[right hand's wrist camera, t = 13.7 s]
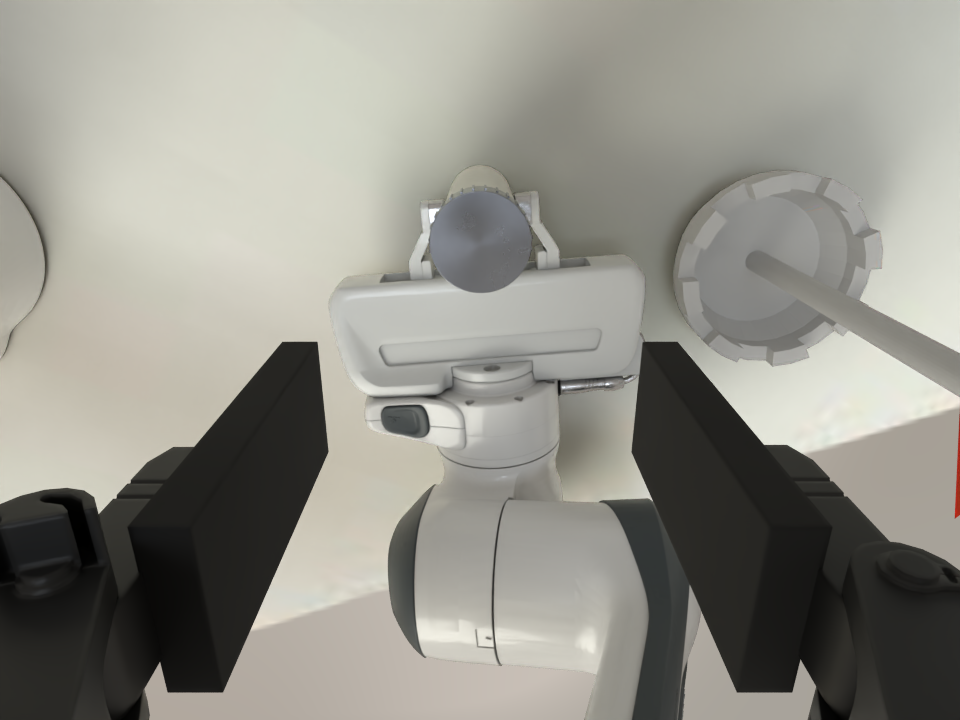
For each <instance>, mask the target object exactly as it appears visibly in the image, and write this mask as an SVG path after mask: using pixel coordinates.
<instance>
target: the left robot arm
mask: <svg viewBox="0 0 960 720" xmlns="http://www.w3.org/2000/svg"><path fill="white" fill-rule="evenodd" d="M514 200H517V201H518V203H519V206H520V207H521V209H524V211H525V213H526V216H525V217H526V219H527V220H529V222H530V225H531V227H532V229H533V230H534V232H535V233H536V235H537V236H538V238H539V239H540V241H541V242H542V244H543V245H544V246H543V245H542V244H540V245H536V246H535V261H529V262H528V263H527V265H526V267H525V268H524V270H523V271H522V273H521V274H520V275H519V276H518V278H516V279H515V280H514V281H513V282H512V283H511V284H509V285H508V286H506V287H504V288H502V289H500V290H497V291H494V292H489V293H472V292H468V291H464V290H461V289H459V288H457V287H455V286H453V285H452V284H450V283H449V282H448V281H447V280H446V279H445V278H444V277H443V276H442V275H441V274H440V273H439V271H438V270H437V269H434V263H433V260H432V257H431V254H425V255H424V253H425V250H426V248H427V246H428V243H429V241H428V238H429V236H430V231H431V229H430V225H431V223H432V222H434V219H435V218H434V215H435V212H436V211H438V210H439V209H440V206H441V204H442V202H443V201H444V202H445V199H433V200H422V201H421V202H420V212H421V221H422V232H421V234H420V236H419V239H418V241H417V243H416V246H415V248H414V250H413V253H412V255H411V257H410V260H409V269H410V271H407V272H395V273H383V274H371V275H358V276H348V277H346V278H344V279H343V280H342V281H341V282H340V283H339V284H338V286H337V287H336V288H335V290H334V291H333V293H332V295H331V296H330V299H329V313H330V319H331V323H332V328H333V332H334V336H335V340H336V343H337V347H338V350H339V353H340V356H341V359H342V362H343V365H344V368H345V371H346V373H347V375H348V377H349V379H350V380H351V382H352V383H353V385H354V386H355V387H356V388H357V389H358V390H360V391H361V392H363V393H364V394H367V397H366V402H365V421H366V424H367V426H368V427H369V428H370V429H371V430H373V431H375V432H378V433H382V434H387V435H392V436H397V437H402V438H407V439H412V440H416V441H420V442H424V443H428V444H432V445H435V446H437V447H438V450H439V453H440V455H441V458H442V461H443V464H444V478H443V481H442V482H441V483H440V484H439V485H433V486H432V487H431V488H430V489H428V490H427V491H426V492H425V493H424V494H423V495H422V496H421V497H420V498H419V500H418V501H417V502H416V503H415V504H414V505H413V506H412V507H411V508H410V510H409V511H408V512H407V513H406V514H405V515H404V516H403V517H402V519H401V520H400V521H399V523H398V525H397V526H396V528H395V531H394V533H393V536H392V539H391V542H390V547H389V554H388V581H389V592H390V599H391V605H392V610H393V613H394V616H395V618H396V620H397V622H398V624H399V626H400V628H401V630H402V632H403V633H404V635H405V637H406V638H407V640H408V641H409V643H410V644H411V645H412V646H413V648H414V649H415V650H416V651H417V652H418V653H419V654H421V655H422V656H423V657H424V658H426V657H430V658H434V659H439V660H445V661H455V662H464V663H474V664H485V665H497V666H502V665H512V666H523V667H534V668H545V669H557V670H568V671H579V672H585V673H590V674H594V675H596V678H595V681H594V685H593V689H592V693H591V696H590V700H589V704H588V708H587V711H586V715H585V719H584V720H682V719H683V708H684V698H685V694H684V687H685V679H686V671H687V660H688V657H689V654H690V651H691V648H692V646H693V643H694V640H695V637H696V634H697V630H698V626H699V622H700V615H701V609H700V607H699V605H698V602H697V600H696V598H695V595H694V593H693V591H692V589H691V586H690V584H689V582H688V579H687V577H686V575H685V573H684V570H683V568H682V566H681V564H680V561H679V559H678V557H677V554H676V552H675V550H674V548H673V545H672V543H671V541H670V538H669V536H668V534H667V532H666V529H665V527H664V525H663V523H662V520H661V518H660V516H659V513H658V511H657V509H656V507H655V504H654V502H653V501H651V500H650V499H626V500H603V501H600V502H599V503H596V502H566V501H563V495H562V483H561V479H560V476H559V474H558V471H557V469H556V455H557V451H558V448H559V444H560V423H559V399H558V396H559V395H561V394H574V393H584V392H589V391H593V390H594V391H595V390H604V391H613V390H618V389H621V388H623V387H624V384H626V383H629V382H631V381H633V380H634V379H636V378H637V377H638V376H639V373H640V363H641V353H642V343H643V342H645V340H644V337H643V335H642V334H641V332H640V329H641V324H642V317H643V310H644V301H645V287H646V280H645V275H644V273H643V271H642V270H641V268H640V267H639V266H638V265H637V264H636V263H635V262H634V261H633V260H632V259H630V258H629V257H628V256H626V255H624V254H614V255H602V256H590V257H578V258H565V259H560V254H559V248H558V246H557V244H556V243H555V241H554V240H553V238H552V236H551V235H550V233H549V232H548V230H547V229H546V227H545V226H544V224H543V223H542V221H541V219H540V206H539V194H538V192H537V191H527V192H517V193H514ZM44 276H45V258H44V251H43V246H42V242H41V239H40V235H39V233H38V230H37V227H36V225H35V223H34V221H33V219H32V217H31V215H30V213H29V211H28V210H27V208H26V206H25V205H24V204H23V202H22V201H21V199H20V198H19V197H18V195H17V194H16V193H15V192H14V190H13V189H12V188H11V187H10V186H9V185H8V184H7V183H6V182H5V181H4V180H3V179H2V178H1V177H0V359H1V358H2V356H3V354H4V352H5V350H6V347H7V344H8V340H9V336H10V333H11V331H12V330H13V329H14V327H15V326H16V325H17V324H18V323H19V322H20V321H22V320H23V319H24V318H25V317H26V316H27V315H28V314H29V312H30V311H31V310H32V308H33V307H34V305H35V304H36V302H37V300H38V298H39V296H40V293H41V290H42V287H43V283H44ZM626 375H630V376H628V377H625V378H623V376H626ZM558 379H559V381H558Z"/></svg>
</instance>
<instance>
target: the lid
mask: <svg viewBox="0 0 960 720" xmlns="http://www.w3.org/2000/svg"><path fill="white" fill-rule="evenodd" d="M525 216H526V213H525V211H524V209H521V207H520V206H519V203H518V201H517V200H514V199H513V198H512V197H510V196H509V193H508V192H506V193H505V192H503V191H501V190H498V187H496V188H492V187H487V186H486V185H484V186H474V185H472V187H469V188H465V189H463V188H461V190H460V191H458V192H456V193H455V194H450V197H449V198H448V199H447V200H446V201H445V202H444V201H443V202H442V204H441V206H440V209H439V210H438V211H436V212H435V215H434V218H435V219H434V222H432V223H431V225H430V229H431V231H430V236H429V238H428V241H429V247H430V250H429V252H430V253H431V257H432V260H433V263H434V265H435V267H436V268H437V270H438V271H439V273H440V274H441V275H442V276H443V277H444V278H445V279H446V280H447V281H448V282H449V283H450V284H452V285H453V286H455V287H457V288H459V289H461V290H464V291H468V292H472V293H489V292H494V291H497V290H500V289H502V288H504V287H506V286H508V285H509V284H511V283H512V282H513V281H514V280H515V279H516V278H518V276H519V275H520V274H521V273H522V271H523V270H524V268H525V267H526V265H527V263H528V261H529V257H530V254H531V251H532V239H533V236H532V234H531V231H530V227H531V225H530V222H529V220H527V219H526V217H525Z"/></svg>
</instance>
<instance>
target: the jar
mask: <svg viewBox="0 0 960 720" xmlns="http://www.w3.org/2000/svg"><path fill="white" fill-rule="evenodd" d="M472 185H474V186H484V185H486V186H487V187H492V188H496V187H498V190H501V191H503V192H505V193H506V192H508V193H509V196H510V197H512V198H513V199H514V197H513V195H512V192H511V189H510V187H509V184H508V182H507V180H506V179H505V177H504V176H503V175H502V174H501V173H500V172H499V171H497V170H496V169H494V168H492V167H489V166H484V165H476V166H471V167H469V168H466V169H465V170H463V171H462V172H460V173H459V174H458V175H457V176H456V178H455V179H454V181H453V183H452V185H451V187H450V190H449V193H448V196H447V199H448V198H449V197H450V194H455V193H456V192H458V191H460V190H461V188H463V189H465V188H469V187H472ZM447 199H446V200H447Z"/></svg>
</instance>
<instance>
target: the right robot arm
mask: <svg viewBox="0 0 960 720" xmlns="http://www.w3.org/2000/svg"><path fill="white" fill-rule="evenodd" d="M327 454H328V443H327V433H326V423H325V413H324V403H323V393H322V383H321V373H320V363H319V353H318V343H317V342H282V343H281V344H280V346H279V347H278V348H277V349H276V350H275V351H274V353H273V354H272V355H271V356H270V357H269V359H268V360H267V361H266V362H265V363H264V365H263V366H262V367H261V368H260V369H259V371H258V372H257V373H256V374H255V375H254V376H253V378H252V379H251V380H250V381H249V382H248V384H247V385H246V386H245V387H244V388H243V390H242V391H241V392H240V393H239V394H238V396H237V397H236V398H235V399H234V400H233V402H232V403H231V404H230V405H229V406H228V407H227V409H226V410H225V411H224V412H223V413H222V415H221V416H220V417H219V418H218V419H217V421H216V422H215V423H214V424H213V425H212V427H211V428H210V429H209V430H208V431H207V433H206V434H205V435H204V436H203V437H202V438H201V440H200V441H199V442H198V443H197V444H196V446H195V447H173V448H171V449H169V450H168V451H166V452H164V453H163V454H161V455H159V456H157V457H156V458H154V459H152V460H151V461H149V462H147V463H146V464H145V466H144V467H143V468H142V469H141V470H140V471H139V472H138V473H137V474H136V475H135V476H134V477H133V478H132V479H131V484H127V485H126V486H125V487H124V488H123V489H122V490H121V491H120V492H119V493H118V494H117V499H113V500H112V501H111V502H110V503H109V504H108V505H107V506H106V507H105V508H104V509H103V510H102V512H101V513H100V514H98V511H97V507H96V503H95V499H94V497H93V496H91V495H90V494H88V493H87V492H85V491H84V490H77V489H70V488H61V489H49V490H42V491H38V492H34V493H30V494H26V495H22V496H19V497H17V498H14V499H12V500H9V501H7V502H5V503H2V504H0V720H149V716H150V714H149V708H148V701H147V697H146V694H145V690H144V688H145V687H146V685H147V683H148V681H149V680H150V678H151V676H152V674H153V673H154V671H155V669H156V667H157V666H158V664H159V662H160V663H161V667H162V671H163V675H164V679H165V683H166V687H167V691H168V692H223V691H224V689H225V687H226V684H227V682H228V680H229V677H230V675H231V673H232V671H233V668H234V666H235V664H236V662H237V659H238V657H239V655H240V652H241V650H242V648H243V645H244V643H245V641H246V639H247V636H248V634H249V632H250V630H251V627H252V625H253V623H254V620H255V618H256V616H257V614H258V611H259V609H260V607H261V605H262V602H263V600H264V598H265V595H266V593H267V591H268V589H269V586H270V584H271V582H272V579H273V577H274V575H275V573H276V570H277V568H278V566H279V564H280V561H281V559H282V557H283V554H284V552H285V550H286V548H287V545H288V543H289V541H290V538H291V536H292V534H293V532H294V529H295V527H296V525H297V522H298V520H299V518H300V516H301V513H302V511H303V509H304V507H305V504H306V502H307V500H308V497H309V495H310V493H311V491H312V488H313V486H314V484H315V481H316V479H317V477H318V475H319V472H320V470H321V468H322V466H323V463H324V461H325V459H326V456H327ZM632 454H633V456H634V459H635V461H636V463H637V466H638V468H639V470H640V472H641V475H642V477H643V479H644V481H645V484H646V486H647V488H648V491H649V493H650V495H651V497H652V500H653V502H654V504H655V507H656V509H657V511H658V513H659V516H660V518H661V520H662V523H663V525H664V527H665V529H666V532H667V534H668V536H669V538H670V541H671V543H672V545H673V548H674V550H675V552H676V554H677V557H678V559H679V561H680V564H681V566H682V568H683V570H684V573H685V575H686V577H687V579H688V582H689V584H690V586H691V589H692V591H693V593H694V595H695V598H696V600H697V602H698V605H699V607H700V609H701V611H702V614H703V616H704V618H705V620H706V623H707V625H708V627H709V629H710V632H711V634H712V636H713V639H714V641H715V643H716V646H717V648H718V650H719V652H720V655H721V657H722V659H723V662H724V664H725V666H726V668H727V671H728V673H729V675H730V677H731V680H732V682H733V684H734V687H735V689H736V691H737V692H792V691H793V687H794V683H795V679H796V675H797V671H798V666H799V663H800V659H801V661H802V663H803V664H804V666H805V668H806V669H807V671H808V673H809V675H810V676H811V678H812V680H813V681H814V683H815V685H816V690H815V694H814V698H813V701H812V705H811V709H810V713H809V717H808V720H960V570H958V569H957V568H955V567H954V566H953V565H951V564H950V563H948V562H947V561H946V560H944V559H942V558H940V557H938V556H935V555H933V554H931V553H929V552H927V551H925V550H923V549H919V548H916V547H912V546H909V545H905V544H902V543H896V542H890V541H889V540H888V539H887V538H886V537H885V536H884V535H883V534H882V533H881V532H880V531H879V530H878V529H877V528H876V527H875V526H874V524H873V523H872V522H871V521H870V520H869V519H868V518H867V517H866V516H865V515H864V514H863V513H862V512H861V511H860V510H859V509H858V507H857V506H856V505H855V504H854V503H853V502H852V501H851V500H850V499H849V498H848V497H844V493H843V492H842V490H841V489H840V488H839V487H838V486H837V485H836V484H835V483H834V482H832V481H830V478H829V477H828V476H827V475H826V473H825V472H824V471H823V470H822V469H821V468H820V467H819V466H818V465H817V464H816V463H815V462H814V461H813V460H812V459H810V458H808V457H807V456H805V455H803V454H801V453H800V452H798V451H796V450H795V449H793V448H791V447H789V446H788V445H764V444H763V443H762V442H761V441H760V440H759V438H758V437H757V436H756V435H755V434H754V433H753V431H752V430H751V429H750V428H749V427H748V425H747V424H746V423H745V422H744V421H743V419H742V418H741V417H740V416H739V415H738V413H737V412H736V411H735V410H734V409H733V407H732V406H731V405H730V404H729V403H728V402H727V400H726V399H725V398H724V397H723V396H722V394H721V393H720V392H719V391H718V390H717V388H716V387H715V386H714V385H713V384H712V382H711V381H710V380H709V379H708V378H707V376H706V375H705V374H704V373H703V372H702V371H701V369H700V368H699V367H698V366H697V365H696V363H695V362H694V361H693V360H692V359H691V357H690V356H689V355H688V354H687V353H686V351H685V350H684V349H683V348H682V347H681V346H680V344H679V343H678V342H643V343H642V353H641V363H640V373H639V383H638V393H637V403H636V413H635V423H634V433H633V443H632Z"/></svg>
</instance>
